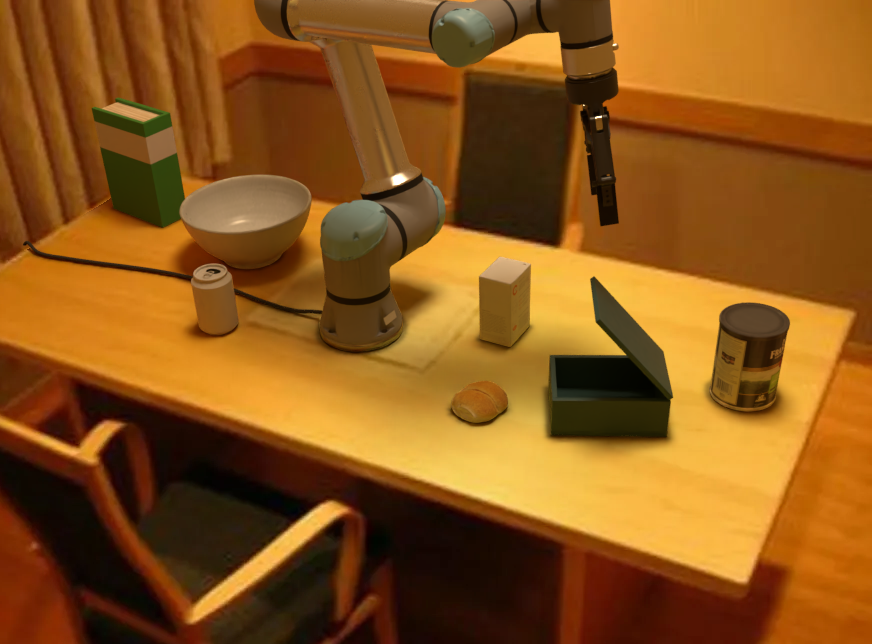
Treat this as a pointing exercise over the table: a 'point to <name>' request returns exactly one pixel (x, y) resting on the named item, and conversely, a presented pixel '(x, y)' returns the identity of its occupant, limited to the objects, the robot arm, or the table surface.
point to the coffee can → (748, 356)
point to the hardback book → (140, 161)
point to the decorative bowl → (247, 218)
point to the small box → (504, 301)
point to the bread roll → (479, 401)
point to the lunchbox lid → (630, 337)
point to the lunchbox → (604, 398)
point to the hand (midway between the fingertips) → (604, 208)
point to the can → (214, 299)
